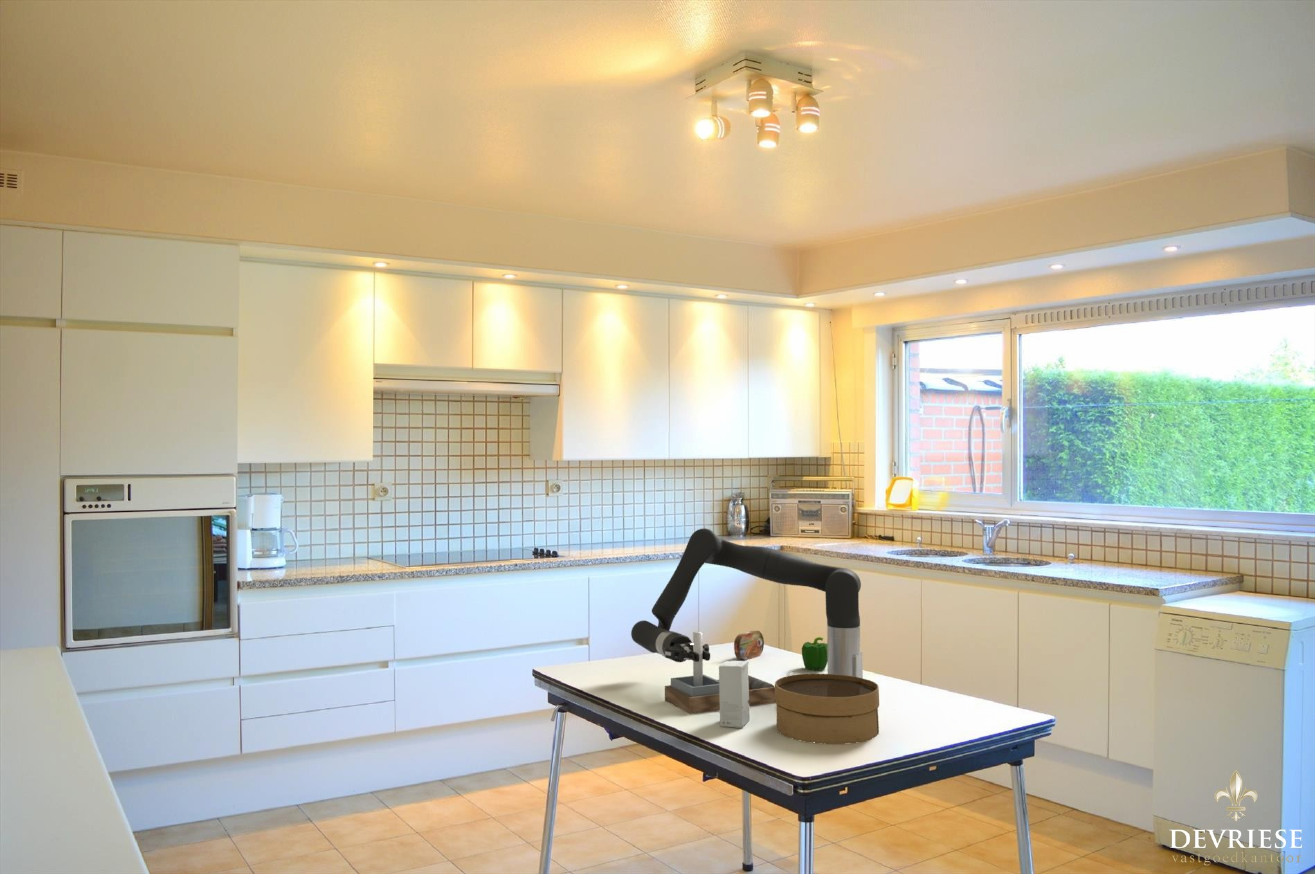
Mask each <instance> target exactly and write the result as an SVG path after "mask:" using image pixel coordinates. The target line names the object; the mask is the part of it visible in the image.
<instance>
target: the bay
mask: <svg viewBox="0 0 1315 874" xmlns="http://www.w3.org/2000/svg"><path fill="white" fill-rule="evenodd" d="M717 680H718V681H719V679H717ZM748 681H749V707H751V706H752V707H753V706H760V705H767V704H776V702H775V684H773V683H770V682H767V681H765V680H763V679H759V678H757V677H754V676H752V675H749V674H748ZM664 702H667V703H669V704H670V705H672V706H675V707H676V708H678V709H680V710H682V711H683V712H686V713H689V714H690V713H691V714H692V713H693V714H699V713H707V712H715V711H720V699H719V694H712V695H704V696H696V697H691V696H689V695H686V694H684V693H682V692H680V691H678V690H676V689H674V688H671V684H670V685H664ZM691 714H690V715H691Z"/></svg>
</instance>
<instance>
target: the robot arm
mask: <svg viewBox="0 0 1315 874" xmlns="http://www.w3.org/2000/svg"><path fill="white" fill-rule="evenodd" d="M704 564H709V565H716V566H720V567H726V568H732V569H735V570H738V571H740V572H742V573H745V574H747V575H751V576H753V577H755V578H759V579H763V580H765V581H769V582H773V583H777V584H783V585H788V586H789V585H790V586H796V587H797V586H799V587H808V588H812V589H814V590H819V591H821V592H824V593H825V594H824V595H825V615H826V623H827V624H826V625H827V626H826V629H827V631H826V632H827V633H826V636H827V638H826V639H827V640H826V641H827V643H826V644H827V674H837V675H847V676H853V677H859V678H863V679H864V677H863V676H864V675H863V673H864V671H863V669H864V668H863V667H864V666H863V665H864V664H863V660H864V659H863V652H862V651H861V617H860V609H859V608H860V607H859V606H860V605H859V596H860V595H859V594H860V593H859V592H860V591H861V587H862V583H861V579H860V576H859V575H858V574H857V573H856V572H855V571H854V570H852V569H850V568H847V567H846V568H845V567H838V566H831V565H827V564H822V563H817V562H813V561H811V560H809V559H806V558H803V557H801V556H797V555H794V554H791V553H788V552H785V551H782V550H778V549H775V548H771V547H766V546H758V545H757V546H754V545H741V544H738V543H736V542H735V543H734V542H731V541H729V540H727V539H723V538H721V537H719V536H718V535H717V534H716V533H715V532H714V531H713V530H711V529H709V528H699V529H697V530H695V531H694V532H693V533H691V535H690V537H689V539H688V541H687V544H686V546H685V549H684V552H683V554H682V556H681V558H680V560H679V562H678V565H677V566H676V568H675V570H674V572H673V574H672V576H671V577H670V579H669V580H668V583H667V584H666V586H665V587H664V588H663V590H662V591H661V593H660V595H659V597H658V598H657V600H656V602H655V604H654V605H653V606H652V608H651V613H652V615H653V616H654V617H655V618H656V619H657V622H658V623H657V625H656V624H654V623H652V622H650V621H648V620H645V619H644V620H639V621H637V622H635V624H634V625H633V626H632V627H631V631H630V636H631V639H632V640H633V642H634V643H636V645H639V646H640V647H641V648H644V649H645V650H647V651H648V652H650V653H652V654H655V653H656V654H659V655H661V656H662V657H664V658H666V659H668V660H671V661H673V662H676V663H684V662H686V661H695V662H699V653H697V652H694V651H693V640H691V638H690V637H689V636H687V635H685V634H682V633H679V632H677V631H671V627H672V624H673V621H674V619H675V618H676V615H677V614H678V613H679V611H680V609H681V608H682V606H683V605H684V603H685V601H686V598H687V596H688V594H689V592H690V589H691V587H692V584H693V582H694V579H695V578H696V576H697V574H698V573H699V571H700V570H701V568H702V567H703V566H704ZM710 660H711V653H710V646H709V643H705V644H703V661H710Z"/></svg>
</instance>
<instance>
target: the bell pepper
mask: <svg viewBox="0 0 1315 874" xmlns="http://www.w3.org/2000/svg"><path fill="white" fill-rule="evenodd" d="M823 640H824V637H822V636H817V637H816V638H814V640H813V642H810V641H806V642H804V643H803V645H802V647H801V655H802V656H801V657H802V662H803V665H804V668H805V670H808V671H816V670H817V671H821V670H822V671H823V670H825V669H826V667H827V666H828V663H827V643H825V642H823ZM818 641H821V643H820V642H818Z"/></svg>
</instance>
